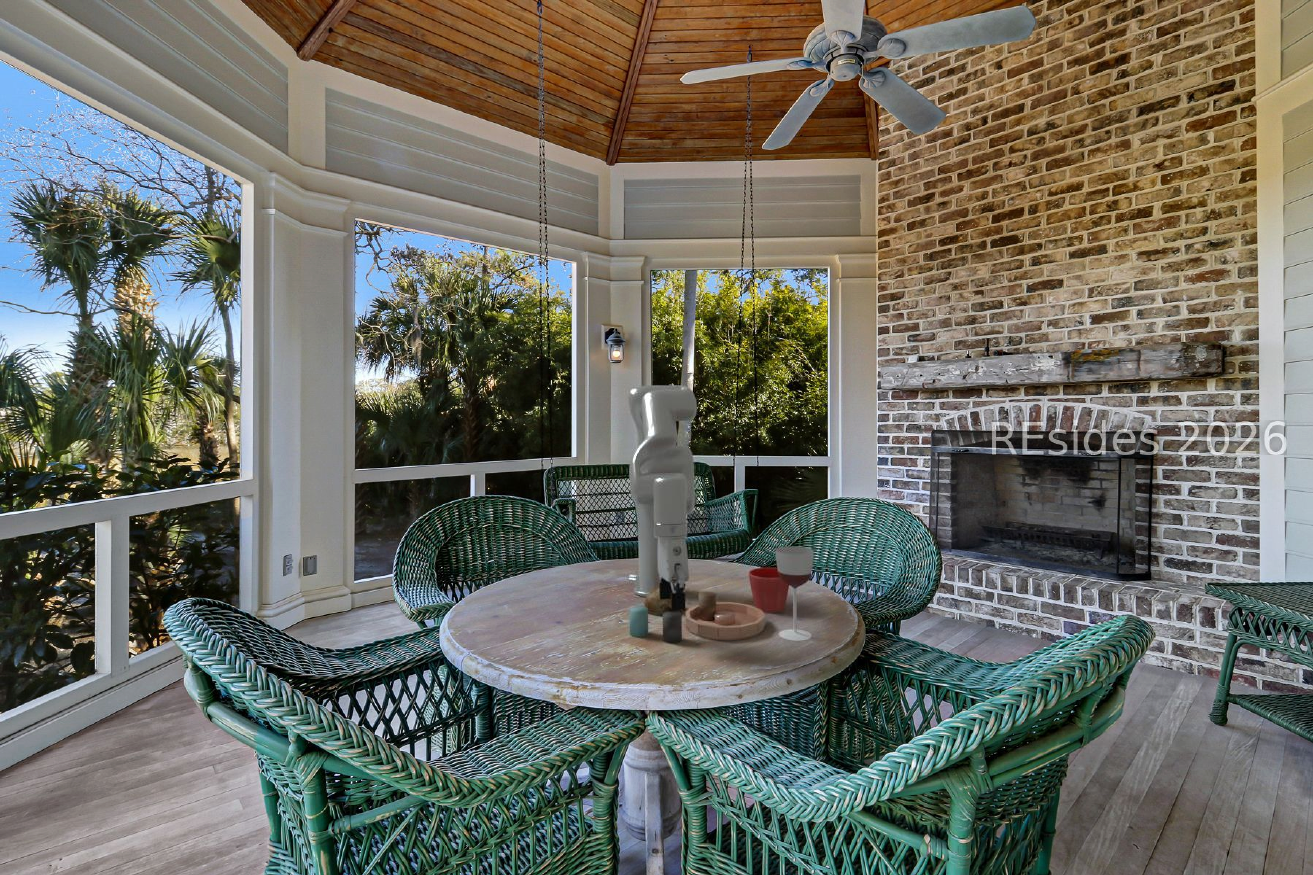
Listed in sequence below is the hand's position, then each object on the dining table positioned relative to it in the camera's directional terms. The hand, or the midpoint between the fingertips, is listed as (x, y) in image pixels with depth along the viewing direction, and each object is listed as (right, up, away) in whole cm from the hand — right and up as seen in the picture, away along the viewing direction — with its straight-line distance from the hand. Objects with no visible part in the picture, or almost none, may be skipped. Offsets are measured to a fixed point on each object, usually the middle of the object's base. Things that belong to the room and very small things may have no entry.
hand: (672, 604), depth 149 cm
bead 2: (0, -9, +1) cm, 9 cm away
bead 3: (+9, -7, +13) cm, 17 cm away
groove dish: (+13, -8, +10) cm, 18 cm away
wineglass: (+29, -8, +3) cm, 30 cm away
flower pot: (+26, -7, +23) cm, 36 cm away
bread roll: (-2, -8, +23) cm, 25 cm away
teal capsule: (-8, -9, +6) cm, 13 cm away
